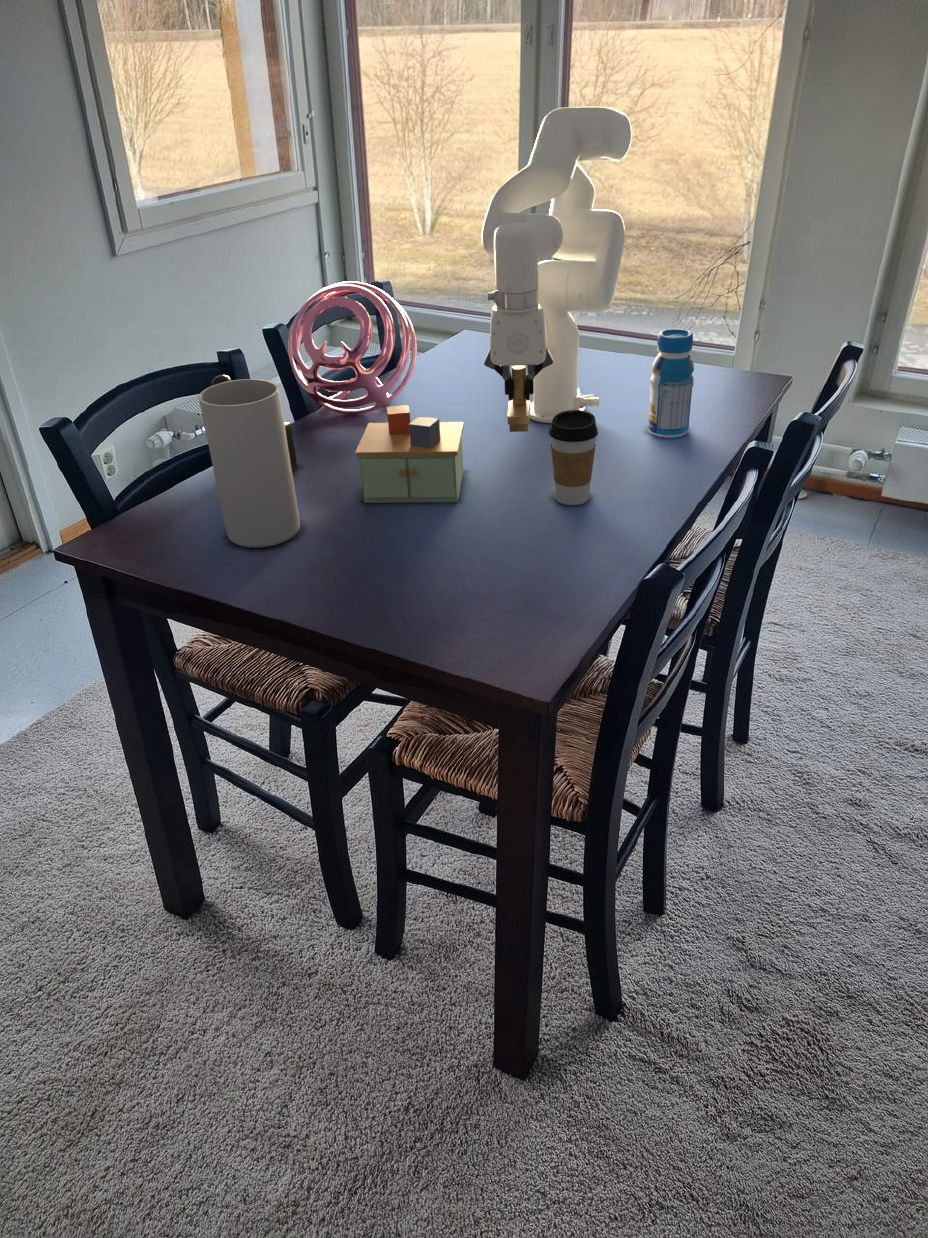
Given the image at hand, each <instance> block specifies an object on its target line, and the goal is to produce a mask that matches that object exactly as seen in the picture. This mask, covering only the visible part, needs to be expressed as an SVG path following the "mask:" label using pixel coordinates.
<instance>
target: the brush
mask: <svg viewBox="0 0 928 1238" xmlns="http://www.w3.org/2000/svg"><path fill="white" fill-rule="evenodd" d="M511 376H512V393H513V399H512V400H511V401H509V400H508V409H507V425H508V426H509V433H515V432H516V433H523V432H524V433H525V432H526V433H527V432H529V425H530V421H531V418H530V406H531V403H532V394H530V400H526V376H527V365H512V366H511Z"/></svg>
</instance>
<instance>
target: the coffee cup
mask: <svg viewBox="0 0 928 1238" xmlns="http://www.w3.org/2000/svg"><path fill="white" fill-rule="evenodd" d="M596 421H597V420H596V417H595V415H594V414H593V413H591V412H589V411H587V410H585V411H582V410H568V411H564V412H561V413H559V414H557V415H556V416H555V417H554V418H553V420H552V423H550V426H549V431H548V434H549V437H550V438H551V443H550V448H551V449H550V453H551V461H552V462H551V463H552V472H553V481H554V496H555V500H556V502H557V503H560V504H562V505H567V506H579V505H582V504H585V503H586V502H587V501H589V497H590V491H591V490H590V489H591V481H592V475H593V467H594V459H595V452H596V447H597V446H596V437H597V436H598V435H599V431H598V430H599V429H598V426H597V422H596Z"/></svg>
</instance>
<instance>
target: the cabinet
mask: <svg viewBox="0 0 928 1238" xmlns="http://www.w3.org/2000/svg"><path fill="white" fill-rule="evenodd" d="M439 423H440V439H441V440H440V441H439V442H438V443H436V444H435V445H434V446H433V447H432V448H425V447H418V446H411V444H410V434H399V435H389V429H388V422H368V423H367V426H366V427H365V430H364V432H363V435H362V437H361V439H360V440H359V444H358V445H357V448H356V450H355V452H354V454H355V457H358V460H359V466H360V467H359V468H360V476H361V486H362V494H363V502H364V503H365V504H366V503H367V504H368V503H369V504H370V503H371V504H373V503H375V504H376V503H378V504H379V503H380V504H381V503H383V504H384V503H387V504H389V503H458V501H459V496H460V491H461V486H462V482H463V481H462V480H463V476H464V459H463V457H464V455H463V432H464V427H465V422H464V421H439Z"/></svg>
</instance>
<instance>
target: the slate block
mask: <svg viewBox="0 0 928 1238" xmlns="http://www.w3.org/2000/svg"><path fill="white" fill-rule="evenodd" d="M410 422H411V423H410V424H409V431H410V444H411V446H418V447H425V448H432V447H433V446H434V445H435V444H436V443H438V442H439V441H440V440H441V439H440V423H439V422H440V418H436V417H427V416H421V415H419V416H417V417H416V418H415V419H414V420H412V421H410Z"/></svg>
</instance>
